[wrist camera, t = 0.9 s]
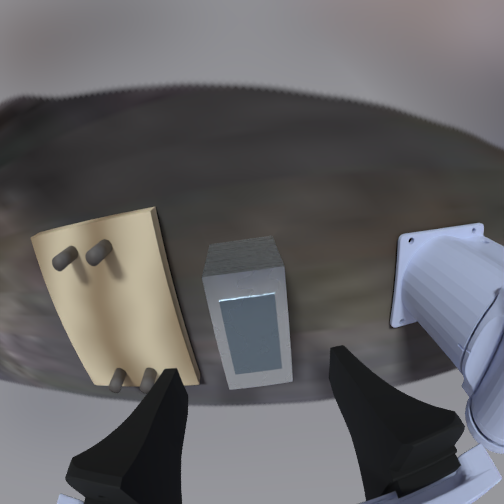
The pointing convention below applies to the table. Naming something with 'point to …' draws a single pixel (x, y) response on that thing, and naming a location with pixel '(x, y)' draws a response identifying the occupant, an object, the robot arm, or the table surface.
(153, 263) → the tan flat board
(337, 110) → the table surface
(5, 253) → the table surface
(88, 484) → the robot arm
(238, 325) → the block
